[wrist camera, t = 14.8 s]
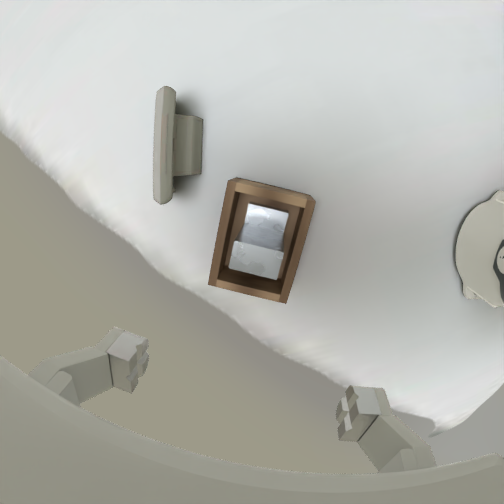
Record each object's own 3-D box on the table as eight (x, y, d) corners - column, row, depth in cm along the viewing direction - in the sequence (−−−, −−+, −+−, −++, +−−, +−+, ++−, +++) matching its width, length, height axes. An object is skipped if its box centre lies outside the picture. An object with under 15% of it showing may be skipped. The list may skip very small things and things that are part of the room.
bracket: (288, 210, 37) (290, 228, 27) (273, 266, 39) (270, 301, 30) (250, 201, 37) (239, 215, 27) (237, 258, 39) (224, 289, 30)
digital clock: (166, 96, 34) (136, 82, 26) (218, 103, 34) (199, 88, 26) (146, 190, 39) (113, 199, 30) (195, 201, 39) (171, 214, 30)
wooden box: (310, 195, 37) (315, 201, 31) (285, 283, 41) (286, 303, 35) (236, 177, 37) (228, 180, 31) (217, 267, 41) (208, 284, 36)
